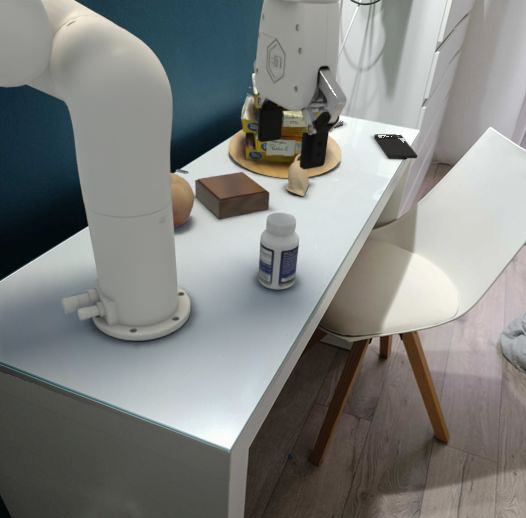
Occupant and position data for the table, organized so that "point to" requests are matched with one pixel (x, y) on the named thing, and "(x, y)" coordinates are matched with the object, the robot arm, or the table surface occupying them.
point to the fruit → (181, 199)
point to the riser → (231, 194)
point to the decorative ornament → (297, 178)
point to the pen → (338, 123)
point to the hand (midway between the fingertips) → (289, 153)
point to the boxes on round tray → (275, 142)
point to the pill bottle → (278, 252)
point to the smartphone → (395, 146)
